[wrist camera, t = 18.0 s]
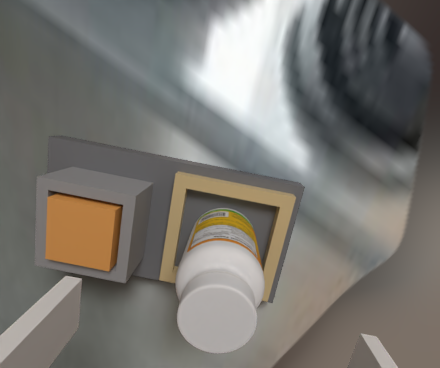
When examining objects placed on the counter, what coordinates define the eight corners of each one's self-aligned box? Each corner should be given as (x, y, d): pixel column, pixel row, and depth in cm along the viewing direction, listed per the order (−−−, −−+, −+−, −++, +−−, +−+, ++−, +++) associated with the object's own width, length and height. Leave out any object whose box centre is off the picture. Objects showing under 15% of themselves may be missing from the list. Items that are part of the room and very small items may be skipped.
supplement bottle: (232, 275, 23) (233, 382, 13) (180, 244, 22) (142, 333, 13) (267, 227, 22) (294, 309, 12) (213, 194, 21) (198, 252, 12)
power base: (55, 249, 25) (6, 284, 19) (60, 135, 22) (6, 139, 17) (270, 292, 25) (280, 339, 19) (299, 182, 22) (321, 201, 17)
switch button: (74, 237, 22) (45, 258, 18) (78, 185, 21) (47, 197, 17) (128, 248, 22) (109, 271, 18) (134, 196, 21) (115, 210, 17)
